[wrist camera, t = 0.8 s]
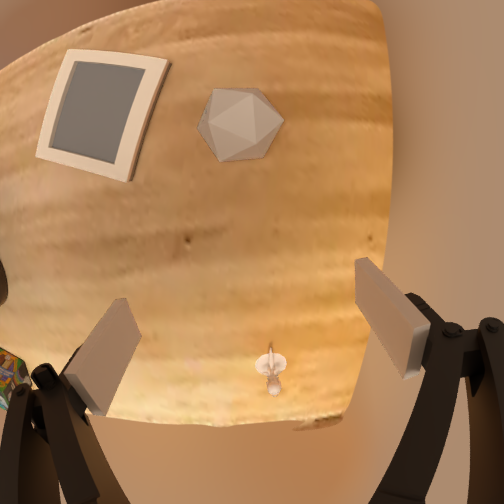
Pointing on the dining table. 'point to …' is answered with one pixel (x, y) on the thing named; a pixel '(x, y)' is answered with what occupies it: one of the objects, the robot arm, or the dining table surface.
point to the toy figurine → (271, 370)
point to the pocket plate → (101, 111)
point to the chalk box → (11, 376)
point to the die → (239, 123)
